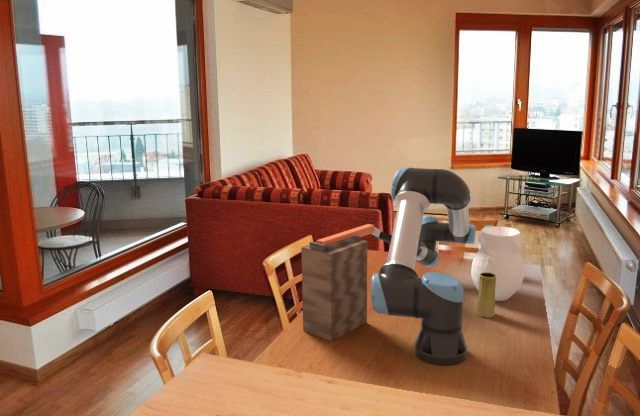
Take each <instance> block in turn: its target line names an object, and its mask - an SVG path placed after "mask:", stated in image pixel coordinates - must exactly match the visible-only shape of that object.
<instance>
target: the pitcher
mask: <svg viewBox="0 0 640 416" xmlns="http://www.w3.org/2000/svg"><path fill="white" fill-rule="evenodd" d="M493 226H494V227H485V228H484V227H483V228H481V230H480V231H481V233H480V234H479V235H478V237H477V239H478V242H479V245H481V248H480V250H479V249H478V251H477V252H476V254H474V255H475V256H473V257H474V258H473V260H472V263H471V268H470V269H471V271H470V272H471V273H470V275H471V279H472V283H473V285H474V286H475V288H476V290H477V292H479V278H480V273H484V272H489V273H493V274H495V275H496V286H495V302H504V301H507V300H509V299H510V298H511V297H512V296H513V295H514V294H515V293H516V292H517V291H518V290H519V289H520V287H521V286H522V283H524V282H523V281H524V278H525V263H524V260H523V257H522V254H521V251H522V246H523V245H522V243H521V241H520V237H521V232H520V231H519V230H518V229H517V228H513V227H509V226H508V227H507V226H495V225H493Z"/></svg>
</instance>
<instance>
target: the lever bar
mask: <svg viewBox="0 0 640 416" xmlns="http://www.w3.org/2000/svg"><path fill="white" fill-rule="evenodd" d="M374 227H375V224H370V223H367V224H364V225H360V226H358V227H354V228H352V229H351V228H350V229H348V230H345V231H342V232H339V233H335V234H333V235H332V234H331V235H329V236H326V237H323V238H320V239H316V242H317V243H320V244H324V245H326V246H327V245H330V244H333V243H336V242H339V241H342V240H345V239H348V238H351V237H354V236H360V238H363V237H365V236H369V235H373V234H372V233H374Z"/></svg>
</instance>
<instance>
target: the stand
mask: <svg viewBox="0 0 640 416" xmlns="http://www.w3.org/2000/svg"><path fill="white" fill-rule="evenodd" d="M300 251H301V286H302V287H301V292H302V294H301V295H302V297H301V298H302V331H303V332H306V333H309V334H312V335H315V336H316V337H320V338H322V339H325V340H328V342H329V341H330V342H332V341H335V340H337V339H338V338H340V337H343V336H344V335H346V334H348V333H350V332H352V331H353V330H355V329H358V328H359V327H363V325H365V324H367V323H368V241H367V240H363V239H361V237H360V236H354V237H351V238H348V239H345V240H342V241H339V242H336V243H333V244H330V245H327V246H326V245H324V244H320V243H317V241H316V242H314V241H309V244H306V245H304V246H301V249H300Z"/></svg>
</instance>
